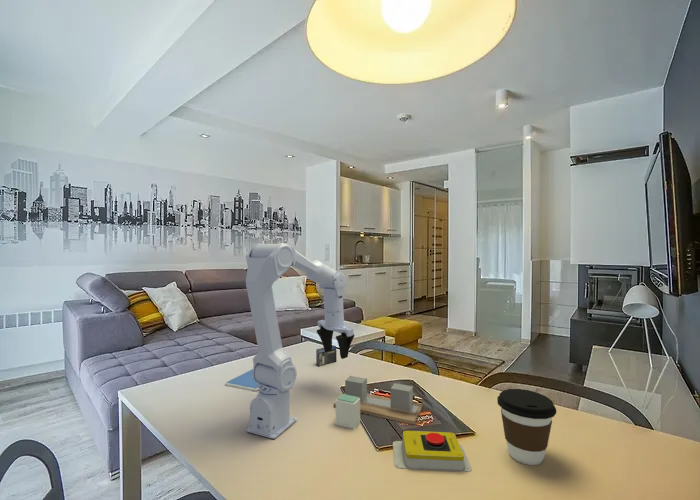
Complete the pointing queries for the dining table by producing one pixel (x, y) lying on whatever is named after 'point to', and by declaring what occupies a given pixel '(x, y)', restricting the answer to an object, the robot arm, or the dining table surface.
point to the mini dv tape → (325, 356)
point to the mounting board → (389, 411)
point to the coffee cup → (526, 424)
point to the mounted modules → (399, 392)
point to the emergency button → (430, 452)
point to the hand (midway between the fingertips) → (336, 354)
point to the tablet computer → (244, 382)
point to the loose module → (348, 411)
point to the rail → (386, 405)
